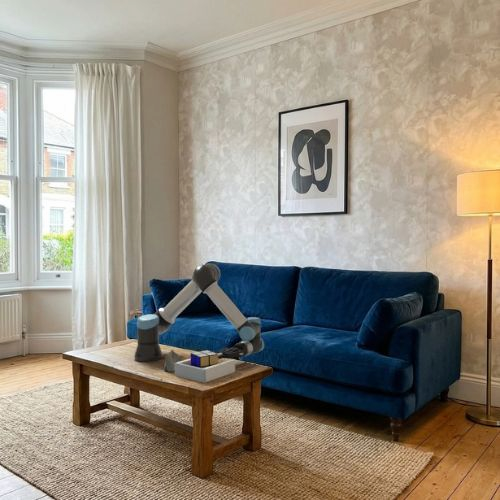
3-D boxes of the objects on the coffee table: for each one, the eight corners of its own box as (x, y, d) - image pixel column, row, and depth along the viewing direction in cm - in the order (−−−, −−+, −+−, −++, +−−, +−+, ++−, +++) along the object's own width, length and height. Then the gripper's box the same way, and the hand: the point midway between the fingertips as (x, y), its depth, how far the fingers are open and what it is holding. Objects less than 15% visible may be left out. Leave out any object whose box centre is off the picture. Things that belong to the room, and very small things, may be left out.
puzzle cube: (190, 372, 241) (190, 352, 241) (208, 369, 247) (207, 350, 246) (200, 377, 233) (200, 357, 232) (218, 374, 239) (218, 353, 238)
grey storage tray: (206, 365, 254) (206, 354, 254) (235, 371, 242) (235, 359, 242) (174, 375, 237) (174, 363, 237) (203, 382, 225) (203, 369, 224)
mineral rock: (176, 364, 257) (176, 345, 257) (190, 367, 250) (189, 348, 250) (156, 369, 248) (156, 349, 247) (170, 373, 240) (170, 353, 240)
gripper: (252, 358, 258) (222, 367, 240) (233, 354, 266) (203, 363, 248) (252, 344, 258) (222, 352, 239) (233, 340, 266) (203, 348, 247)
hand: (212, 358), depth 244 cm, fingers closed
